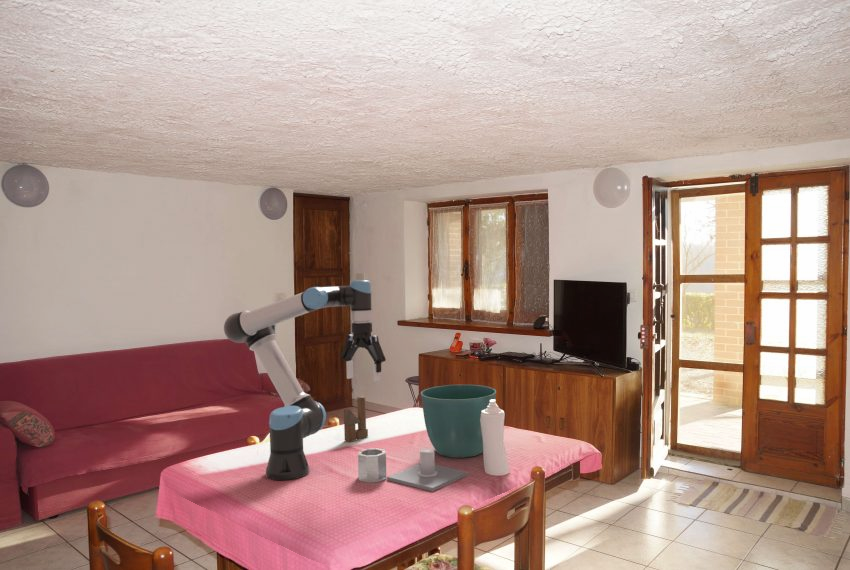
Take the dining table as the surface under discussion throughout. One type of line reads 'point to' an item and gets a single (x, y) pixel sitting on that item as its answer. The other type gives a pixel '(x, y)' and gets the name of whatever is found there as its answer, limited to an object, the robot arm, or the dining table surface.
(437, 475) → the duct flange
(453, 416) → the flower pot
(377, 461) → the collar
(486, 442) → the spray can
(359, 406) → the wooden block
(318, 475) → the dining table surface
